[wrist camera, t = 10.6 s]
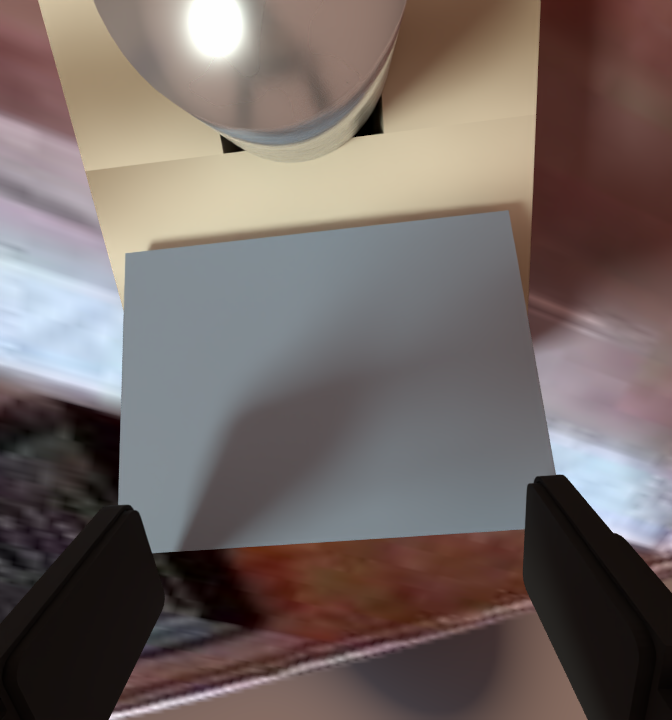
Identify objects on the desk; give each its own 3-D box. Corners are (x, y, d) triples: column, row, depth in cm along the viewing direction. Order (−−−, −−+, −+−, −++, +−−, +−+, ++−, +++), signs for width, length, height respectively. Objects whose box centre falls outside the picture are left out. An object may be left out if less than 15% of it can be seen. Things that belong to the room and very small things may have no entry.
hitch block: (120, -16, 16) (-1, -142, 11) (476, -72, 16) (550, -241, 10) (211, 396, 22) (163, 457, 16) (476, 373, 21) (523, 429, 16)
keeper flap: (138, 263, 14) (125, 253, 13) (500, 224, 13) (508, 210, 12) (133, 547, 12) (117, 555, 11) (551, 520, 11) (565, 526, 11)
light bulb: (221, 24, 16) (20, -283, 6) (372, 2, 16) (410, -361, 6) (247, 187, 18) (125, 146, 8) (383, 171, 18) (426, 107, 8)
